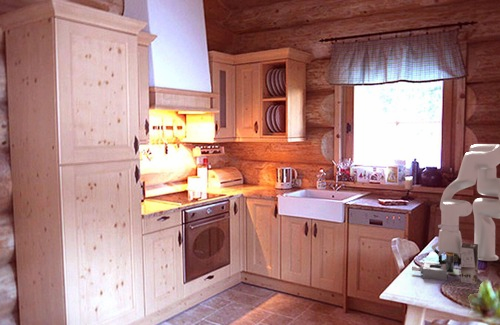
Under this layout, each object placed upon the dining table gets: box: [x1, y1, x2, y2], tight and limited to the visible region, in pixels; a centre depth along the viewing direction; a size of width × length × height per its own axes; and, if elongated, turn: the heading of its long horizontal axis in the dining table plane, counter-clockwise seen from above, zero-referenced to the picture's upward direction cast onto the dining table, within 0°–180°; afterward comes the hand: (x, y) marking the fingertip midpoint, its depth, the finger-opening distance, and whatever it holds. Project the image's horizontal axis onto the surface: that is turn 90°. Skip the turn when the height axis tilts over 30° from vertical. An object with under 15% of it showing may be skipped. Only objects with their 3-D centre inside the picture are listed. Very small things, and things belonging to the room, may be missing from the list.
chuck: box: [411, 261, 448, 282], centre depth 197 cm, size 10×15×5 cm, turn 64°
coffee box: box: [460, 242, 479, 285], centre depth 190 cm, size 9×6×16 cm
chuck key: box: [445, 252, 455, 272], centre depth 202 cm, size 3×3×9 cm
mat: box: [447, 268, 460, 276], centre depth 202 cm, size 8×8×1 cm
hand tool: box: [438, 253, 458, 264], centre depth 214 cm, size 19×4×5 cm, turn 128°
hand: (449, 264), depth 202 cm, fingers open, 7 cm apart
